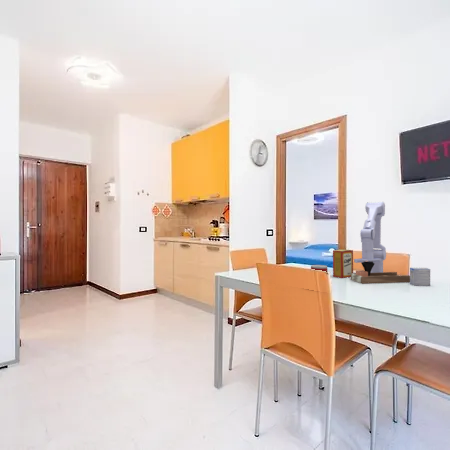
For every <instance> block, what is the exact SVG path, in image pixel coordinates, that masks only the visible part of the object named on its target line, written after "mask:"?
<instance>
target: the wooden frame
mask: <svg viewBox="0 0 450 450" xmlns="http://www.w3.org/2000/svg"><path fill="white" fill-rule="evenodd" d="M350 280H351V281H353V280H354V282H356V283H359V284H364V285H365V284H369V285H370V284H393V283H394V284H395V283H397V284H399V283H410V274H409V275H408V274H406V275H399V274H398V271H387V272H386V271H385V272H384V271H383V272H378V273H370V276H368V277H362V276H359V275H356V272H353V273H351V277H350Z"/></svg>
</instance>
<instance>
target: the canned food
mask: <svg viewBox="0 0 450 450" xmlns="http://www.w3.org/2000/svg"><path fill="white" fill-rule="evenodd" d="M311 269H315V270H322V271H326V272H327V273H328V266H327V265H323V264H312V265H310V270H311Z"/></svg>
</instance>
